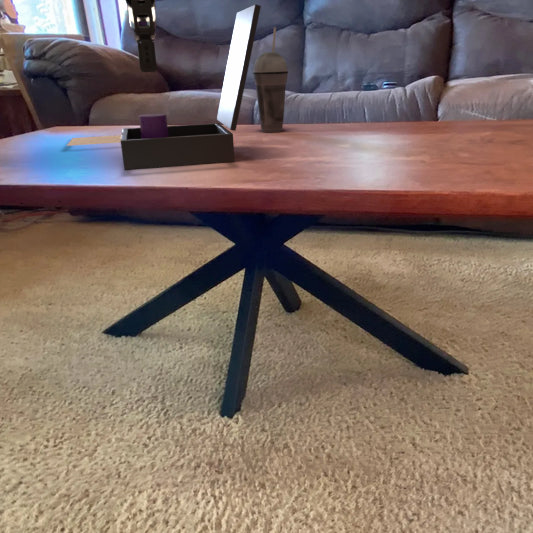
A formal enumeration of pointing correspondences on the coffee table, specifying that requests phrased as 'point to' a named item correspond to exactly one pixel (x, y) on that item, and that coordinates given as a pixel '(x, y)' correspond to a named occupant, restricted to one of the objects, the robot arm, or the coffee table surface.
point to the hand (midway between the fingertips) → (148, 71)
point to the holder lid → (238, 66)
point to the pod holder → (178, 147)
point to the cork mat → (95, 140)
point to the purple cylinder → (153, 126)
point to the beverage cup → (271, 89)
